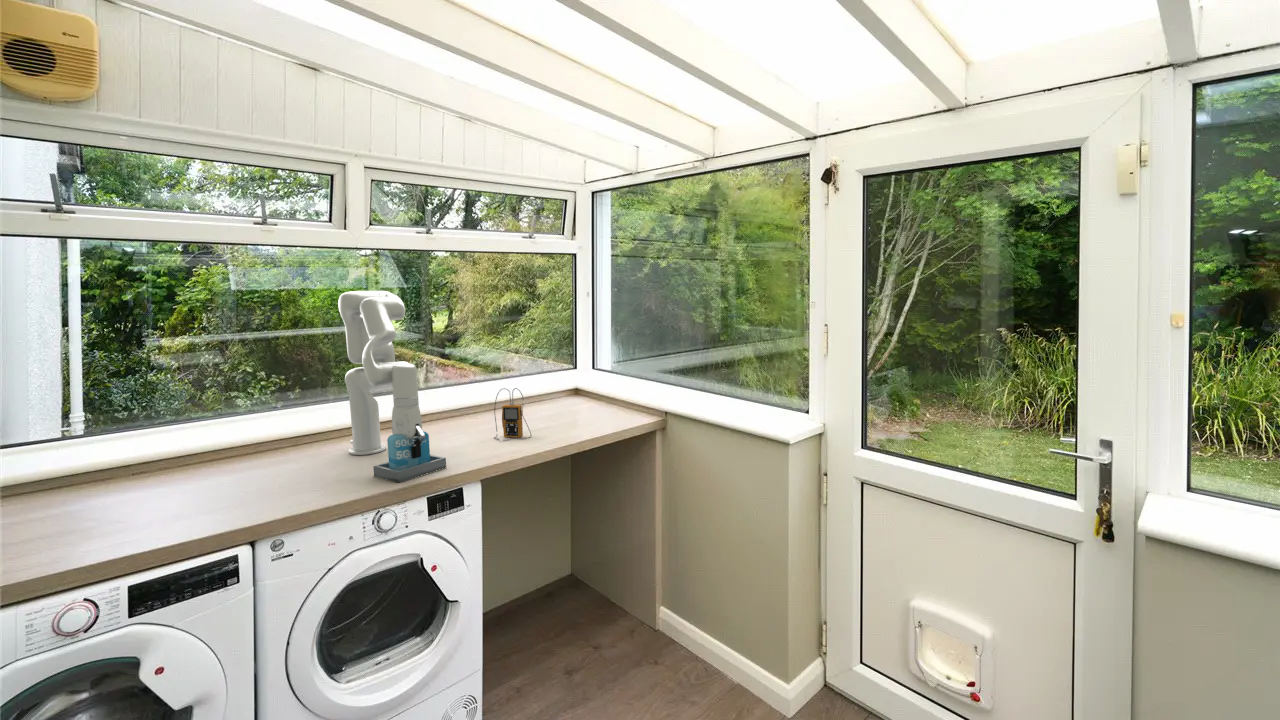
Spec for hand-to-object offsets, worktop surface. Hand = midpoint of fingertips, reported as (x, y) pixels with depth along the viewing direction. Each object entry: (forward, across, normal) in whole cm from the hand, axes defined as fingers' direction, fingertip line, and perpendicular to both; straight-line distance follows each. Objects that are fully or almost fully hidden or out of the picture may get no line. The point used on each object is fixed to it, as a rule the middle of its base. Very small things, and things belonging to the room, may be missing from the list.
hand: (409, 455), depth 194 cm
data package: (+5, 0, 0) cm, 5 cm away
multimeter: (+6, -3, +48) cm, 48 cm away
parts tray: (+6, 0, 0) cm, 6 cm away
